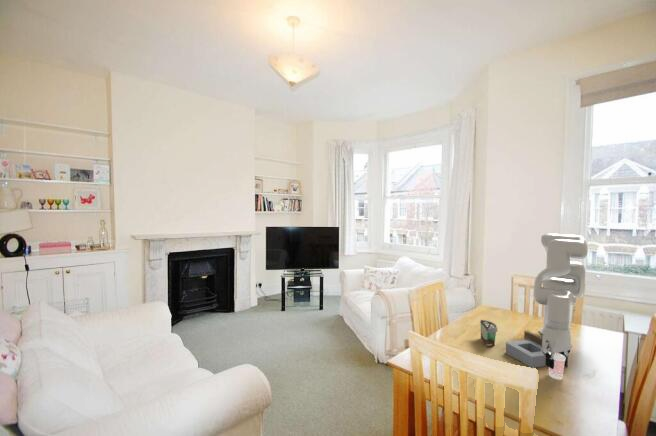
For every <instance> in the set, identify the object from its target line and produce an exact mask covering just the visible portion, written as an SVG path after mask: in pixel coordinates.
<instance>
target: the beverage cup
mask: <svg viewBox="0 0 656 436" xmlns="http://www.w3.org/2000/svg"><path fill="white" fill-rule="evenodd" d="M549 354H550V355H551V352H549ZM553 359H554V369H551V368H550V367H548V376H549V377H551V378H552V379H554V380H559V381H560V380H563V378H564V369H565V368H564V363H565V360H566V357H565V356H564V355H562V354H560V353H555V354H554V357H553Z"/></svg>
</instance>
